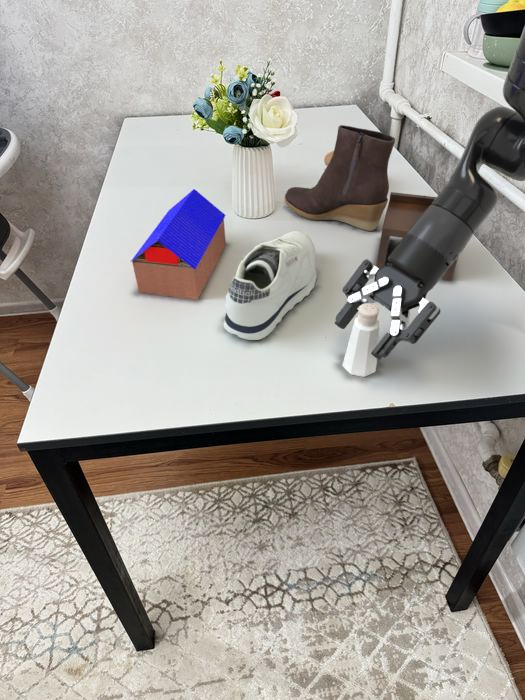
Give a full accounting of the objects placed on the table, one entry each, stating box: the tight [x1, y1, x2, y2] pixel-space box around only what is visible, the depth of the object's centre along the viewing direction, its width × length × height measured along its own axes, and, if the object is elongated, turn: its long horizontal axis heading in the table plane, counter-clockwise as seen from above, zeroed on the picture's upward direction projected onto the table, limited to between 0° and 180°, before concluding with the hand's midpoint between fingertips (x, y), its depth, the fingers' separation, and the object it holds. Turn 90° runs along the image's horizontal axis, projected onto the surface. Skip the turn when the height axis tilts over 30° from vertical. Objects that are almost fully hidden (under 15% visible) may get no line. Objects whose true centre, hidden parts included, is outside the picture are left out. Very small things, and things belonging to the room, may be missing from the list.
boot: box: [284, 124, 396, 232], centre depth 104 cm, size 9×24×20 cm, turn 58°
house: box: [130, 188, 227, 301], centre depth 92 cm, size 12×20×12 cm, turn 168°
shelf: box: [375, 191, 459, 282], centre depth 94 cm, size 14×12×10 cm
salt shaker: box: [342, 303, 380, 378], centre depth 72 cm, size 5×5×11 cm
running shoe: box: [222, 230, 318, 341], centre depth 85 cm, size 11×29×12 cm, turn 158°
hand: (356, 341), depth 71 cm, fingers open, 7 cm apart
